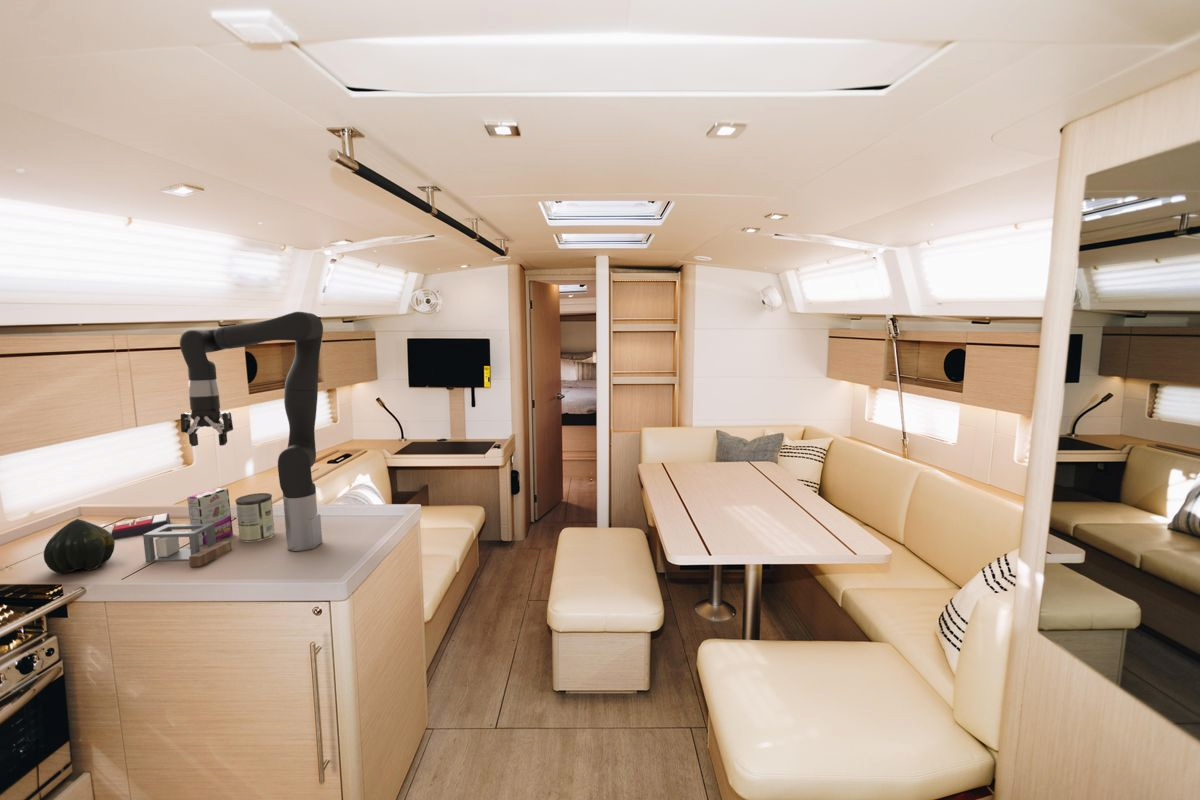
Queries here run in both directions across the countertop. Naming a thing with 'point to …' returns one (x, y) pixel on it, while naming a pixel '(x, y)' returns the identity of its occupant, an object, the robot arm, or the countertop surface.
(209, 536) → the breaker guard
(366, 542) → the countertop surface
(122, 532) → the flat navy red box
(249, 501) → the coffee can
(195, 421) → the robot arm
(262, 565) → the countertop surface
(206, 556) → the wooden block
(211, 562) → the stylus pad
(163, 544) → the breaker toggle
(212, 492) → the candy bar box
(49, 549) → the squash
